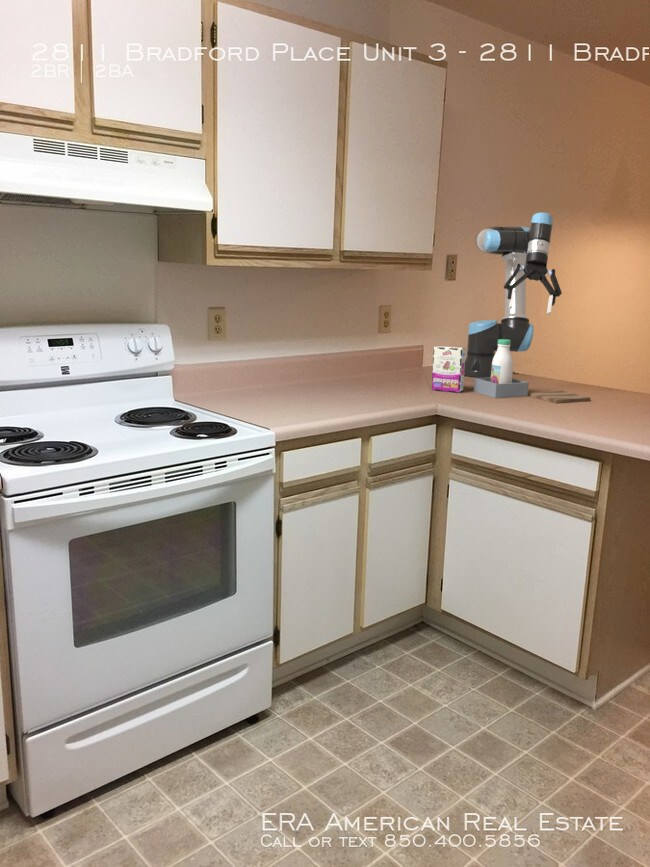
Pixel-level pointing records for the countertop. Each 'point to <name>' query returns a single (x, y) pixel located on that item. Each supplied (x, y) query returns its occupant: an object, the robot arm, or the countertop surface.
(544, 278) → the robot arm
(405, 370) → the countertop surface
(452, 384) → the candy bar box
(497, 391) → the box
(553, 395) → the walnut board
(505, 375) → the milk bottle
